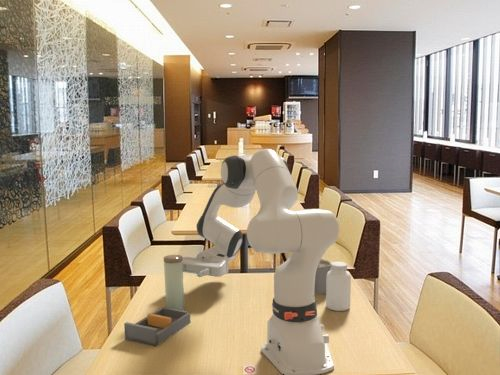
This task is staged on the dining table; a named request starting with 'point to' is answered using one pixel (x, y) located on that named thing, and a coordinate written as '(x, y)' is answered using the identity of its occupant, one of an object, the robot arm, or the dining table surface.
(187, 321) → the gray open tray
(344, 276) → the pill bottle
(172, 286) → the jar
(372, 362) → the dining table surface
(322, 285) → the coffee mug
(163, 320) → the block
